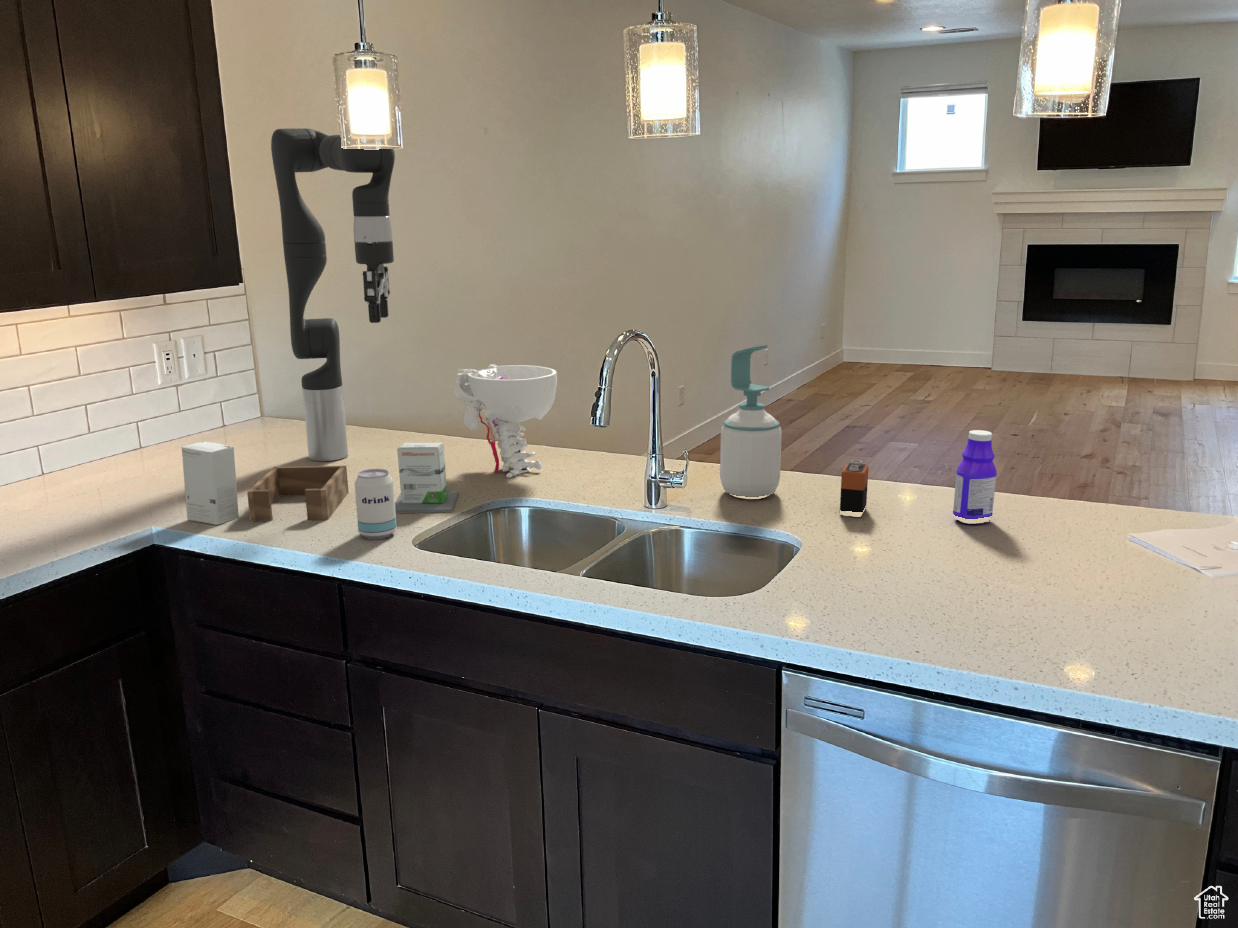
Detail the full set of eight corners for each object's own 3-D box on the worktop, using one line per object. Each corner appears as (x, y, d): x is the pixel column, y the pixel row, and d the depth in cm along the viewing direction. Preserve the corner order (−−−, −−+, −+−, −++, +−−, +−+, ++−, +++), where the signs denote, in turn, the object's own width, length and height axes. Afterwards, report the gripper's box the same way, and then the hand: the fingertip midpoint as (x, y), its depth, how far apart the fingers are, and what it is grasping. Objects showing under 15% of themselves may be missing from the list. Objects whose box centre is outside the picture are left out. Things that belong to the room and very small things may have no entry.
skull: (573, 464, 232) (571, 367, 226) (539, 486, 215) (535, 381, 209) (477, 456, 240) (473, 362, 234) (437, 476, 223) (431, 375, 217)
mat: (400, 495, 209) (400, 492, 209) (458, 494, 210) (458, 491, 210) (390, 513, 198) (390, 510, 198) (451, 511, 198) (451, 509, 198)
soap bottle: (750, 506, 200) (754, 351, 192) (707, 493, 209) (709, 344, 201) (792, 494, 207) (797, 345, 199) (748, 482, 217) (751, 339, 209)
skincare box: (186, 520, 195) (177, 447, 191) (210, 512, 200) (201, 440, 196) (219, 526, 191) (210, 451, 187) (242, 517, 196) (234, 443, 193)
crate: (277, 494, 211) (274, 466, 210) (348, 492, 212) (346, 465, 210) (250, 521, 194) (247, 491, 192) (328, 519, 194) (325, 489, 193)
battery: (866, 508, 198) (869, 459, 195) (861, 518, 192) (864, 468, 189) (844, 506, 199) (846, 458, 197) (839, 516, 193) (841, 466, 191)
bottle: (977, 514, 193) (985, 427, 189) (998, 523, 188) (1006, 433, 184) (946, 519, 191) (953, 430, 186) (966, 528, 186) (974, 437, 181)
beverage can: (359, 542, 181) (354, 479, 178) (358, 531, 188) (353, 469, 184) (398, 539, 183) (393, 476, 180) (395, 527, 189) (391, 466, 186)
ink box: (448, 497, 206) (445, 441, 203) (442, 504, 201) (439, 447, 198) (407, 496, 206) (403, 441, 203) (400, 503, 202) (396, 446, 199)
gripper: (361, 238, 208) (367, 316, 212) (346, 241, 194) (353, 324, 199) (398, 237, 208) (403, 315, 213) (385, 241, 195) (391, 324, 199)
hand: (379, 320), depth 206 cm, fingers open, 8 cm apart
